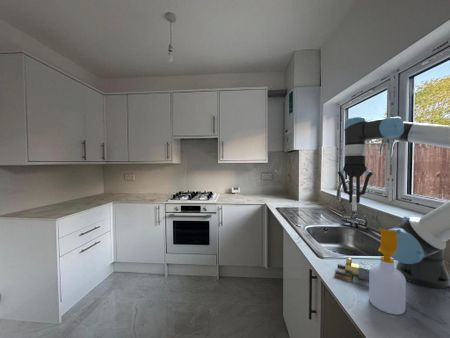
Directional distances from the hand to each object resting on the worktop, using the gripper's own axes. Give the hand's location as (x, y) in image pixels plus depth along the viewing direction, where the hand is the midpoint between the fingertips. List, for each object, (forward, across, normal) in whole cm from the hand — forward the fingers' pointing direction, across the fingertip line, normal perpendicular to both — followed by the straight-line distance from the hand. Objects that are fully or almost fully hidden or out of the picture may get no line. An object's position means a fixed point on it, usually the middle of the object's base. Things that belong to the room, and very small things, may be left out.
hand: (354, 210), depth 89 cm
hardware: (+23, -1, +9) cm, 25 cm away
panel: (+24, -2, +10) cm, 26 cm away
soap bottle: (+25, -11, +22) cm, 35 cm away
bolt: (+23, -1, +10) cm, 25 cm away
